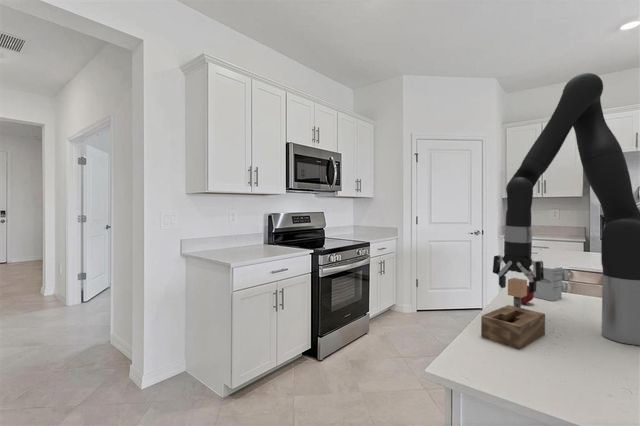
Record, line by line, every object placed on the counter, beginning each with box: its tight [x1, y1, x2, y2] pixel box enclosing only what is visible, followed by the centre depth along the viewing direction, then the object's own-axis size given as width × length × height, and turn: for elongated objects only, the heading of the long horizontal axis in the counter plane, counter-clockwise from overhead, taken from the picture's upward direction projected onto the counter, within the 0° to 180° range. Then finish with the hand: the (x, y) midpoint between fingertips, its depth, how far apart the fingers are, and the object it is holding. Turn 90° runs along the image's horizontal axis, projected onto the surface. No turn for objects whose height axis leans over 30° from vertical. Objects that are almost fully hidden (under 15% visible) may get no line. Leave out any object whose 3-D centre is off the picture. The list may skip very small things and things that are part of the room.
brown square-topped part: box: [507, 277, 528, 308], centre depth 105 cm, size 4×4×13 cm
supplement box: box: [532, 263, 563, 302], centre depth 129 cm, size 7×7×13 cm
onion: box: [521, 284, 535, 305], centre depth 122 cm, size 6×6×8 cm
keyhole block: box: [480, 304, 546, 350], centre depth 93 cm, size 10×16×6 cm, turn 126°
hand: (516, 290), depth 105 cm, fingers open, 8 cm apart
